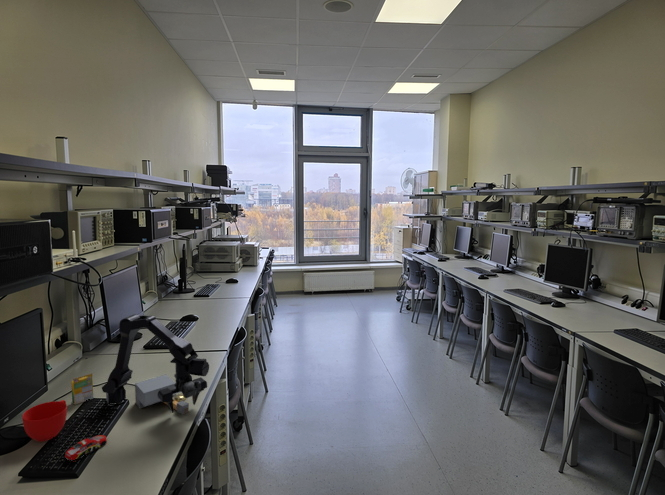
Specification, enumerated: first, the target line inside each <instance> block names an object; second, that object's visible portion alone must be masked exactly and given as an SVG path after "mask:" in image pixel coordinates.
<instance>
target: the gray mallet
mask: <svg viewBox="0 0 665 495" xmlns="http://www.w3.org/2000/svg"><path fill="white" fill-rule="evenodd" d="M162 403H163V404H165V405H167V406H168V404H167V403H166V402H162ZM189 406H190V405H189V403H188V402H186V401H185V400H183V401H179V402H178V401H175V400H174V399H173V410H176V412H177V413H180V414H182V415H185V414H187V413H189V412H190V411H189V410H190V409H189V408H190V407H189Z"/></svg>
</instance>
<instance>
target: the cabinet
mask: <svg viewBox="0 0 665 495" xmlns="http://www.w3.org/2000/svg"><path fill="white" fill-rule="evenodd" d="M175 384H176V381H174V380H173V379H172V378H170V376H168V375H167V374H163V375H159V376H155V377H152V378H149V379H144V380H142V381H138V382H135V384H134V391H135V392H134V394H135V398H134V399H135V404H136V405H137V407H138V409H142V408H145V407H147V406H148V407H149V406H151V405H153V404H154V405H155V404H158V403H160V402H162V401H161V400H160V399H159V398H158V392H159V390H162V389H165V388H168V389H170V390H173V389H176V387H175ZM176 395H177V394H174V395H173V398H174V397H175V396H176Z"/></svg>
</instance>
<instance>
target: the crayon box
mask: <svg viewBox="0 0 665 495" xmlns="http://www.w3.org/2000/svg"><path fill="white" fill-rule="evenodd" d="M93 382H94V380H93V373H89V374H85V375H82V376H78V377H75V378H73V380H70V384H71V385H70V386H71V400H72V404H74V406H75V405H77V404H82V403H84V402H87V401H89V400H88V399H90V400H93V399H94V386H93V385H94V383H93ZM86 400H87V401H86Z"/></svg>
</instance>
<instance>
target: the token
mask: <svg viewBox="0 0 665 495" xmlns="http://www.w3.org/2000/svg"><path fill="white" fill-rule="evenodd" d="M186 399H187V398H185V397H184V395H183V394H182V393H177V394H176V396H175V397H173V400H175V401H177V402H181V401H185V400H186Z"/></svg>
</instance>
